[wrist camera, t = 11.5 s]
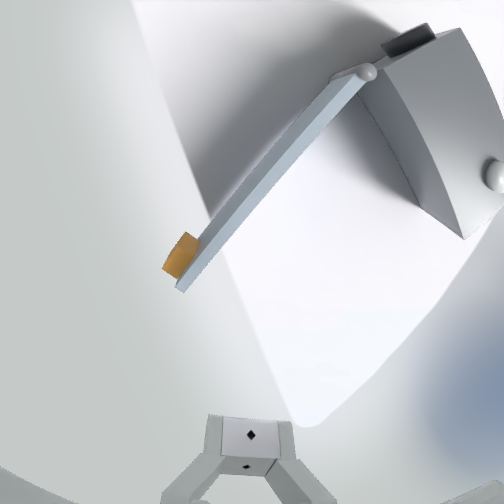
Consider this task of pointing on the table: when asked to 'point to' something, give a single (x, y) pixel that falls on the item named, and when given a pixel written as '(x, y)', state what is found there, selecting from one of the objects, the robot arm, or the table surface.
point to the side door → (265, 175)
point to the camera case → (441, 125)
